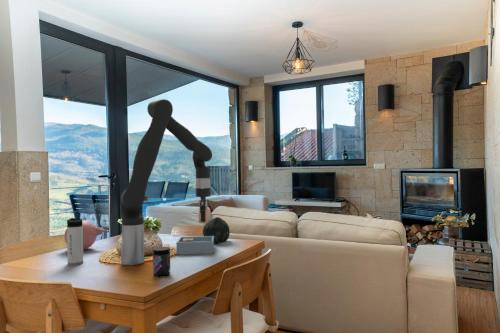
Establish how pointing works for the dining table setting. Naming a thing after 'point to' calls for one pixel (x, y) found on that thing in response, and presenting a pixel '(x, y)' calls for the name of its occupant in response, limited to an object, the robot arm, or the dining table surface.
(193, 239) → the walnut cube
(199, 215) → the terracotta cylinder
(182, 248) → the tote
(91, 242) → the balloon
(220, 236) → the squash
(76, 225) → the travel mug
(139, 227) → the robot arm
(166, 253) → the supplement container
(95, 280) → the dining table surface
